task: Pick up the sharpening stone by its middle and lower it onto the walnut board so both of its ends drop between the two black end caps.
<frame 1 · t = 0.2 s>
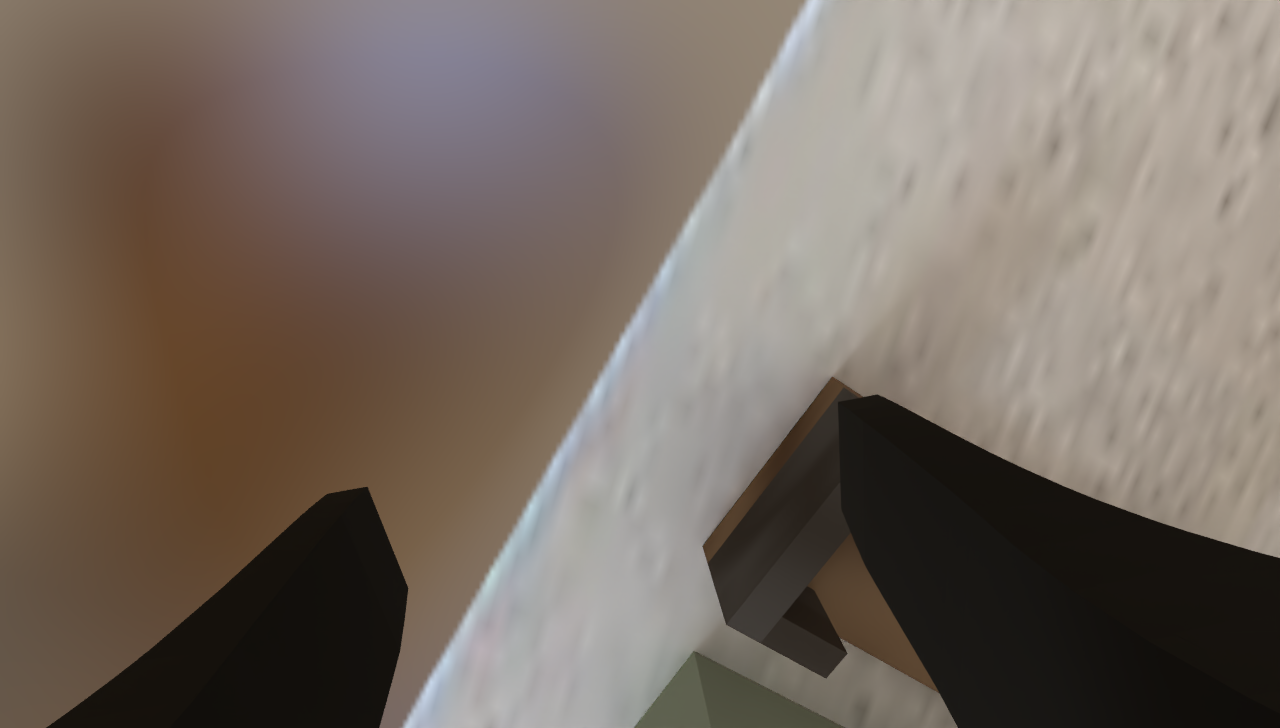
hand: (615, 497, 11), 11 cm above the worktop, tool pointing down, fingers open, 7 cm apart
end cap cradle: (951, 578, 25), on the worktop
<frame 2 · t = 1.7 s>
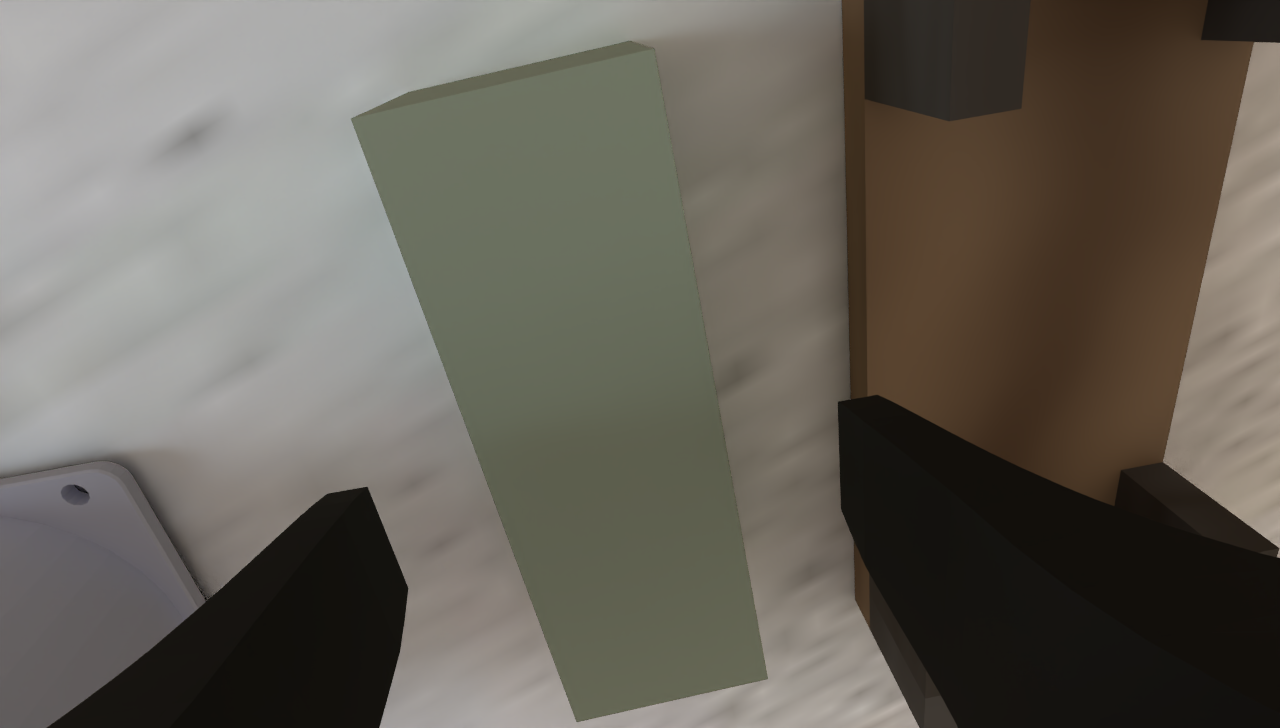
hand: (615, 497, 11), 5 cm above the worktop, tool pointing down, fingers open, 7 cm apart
sharpening stone: (597, 358, 15), on the worktop
end cap cradle: (1007, 290, 15), on the worktop
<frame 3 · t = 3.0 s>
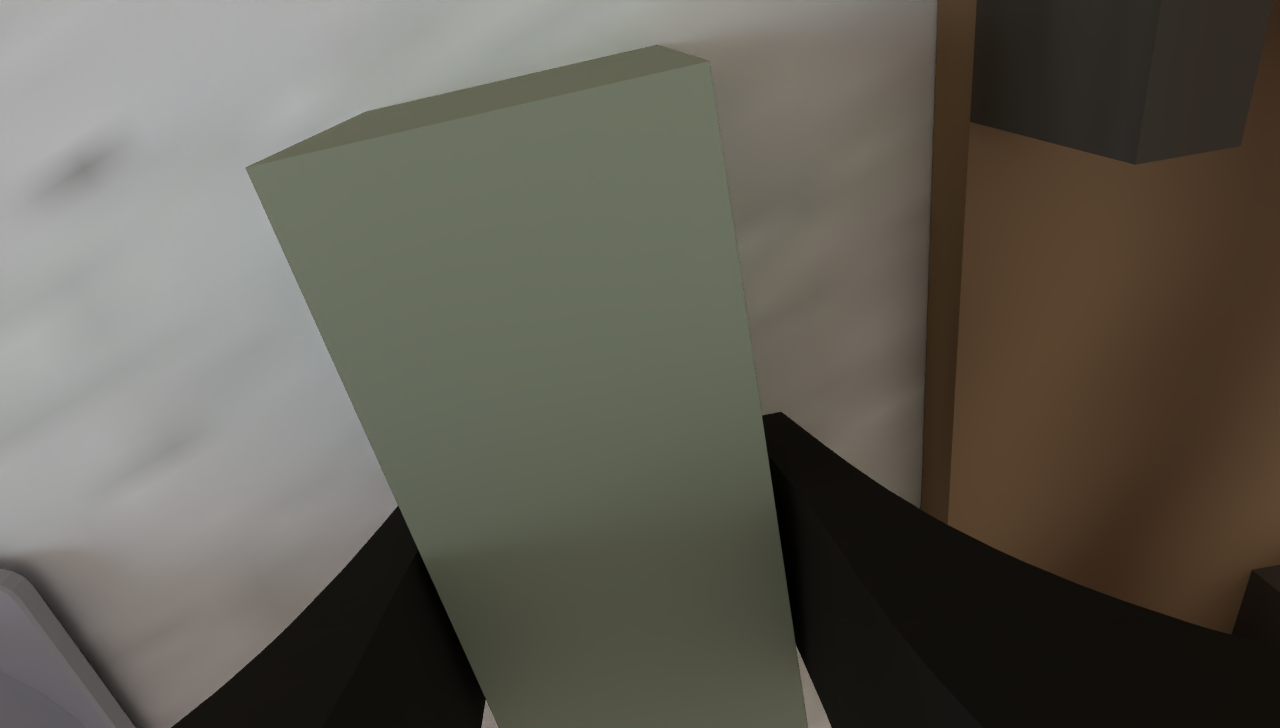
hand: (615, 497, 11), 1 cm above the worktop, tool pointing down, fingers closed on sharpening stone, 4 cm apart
sharpening stone: (609, 444, 12), on the worktop, touching gripper
end cap cradle: (1123, 355, 12), on the worktop
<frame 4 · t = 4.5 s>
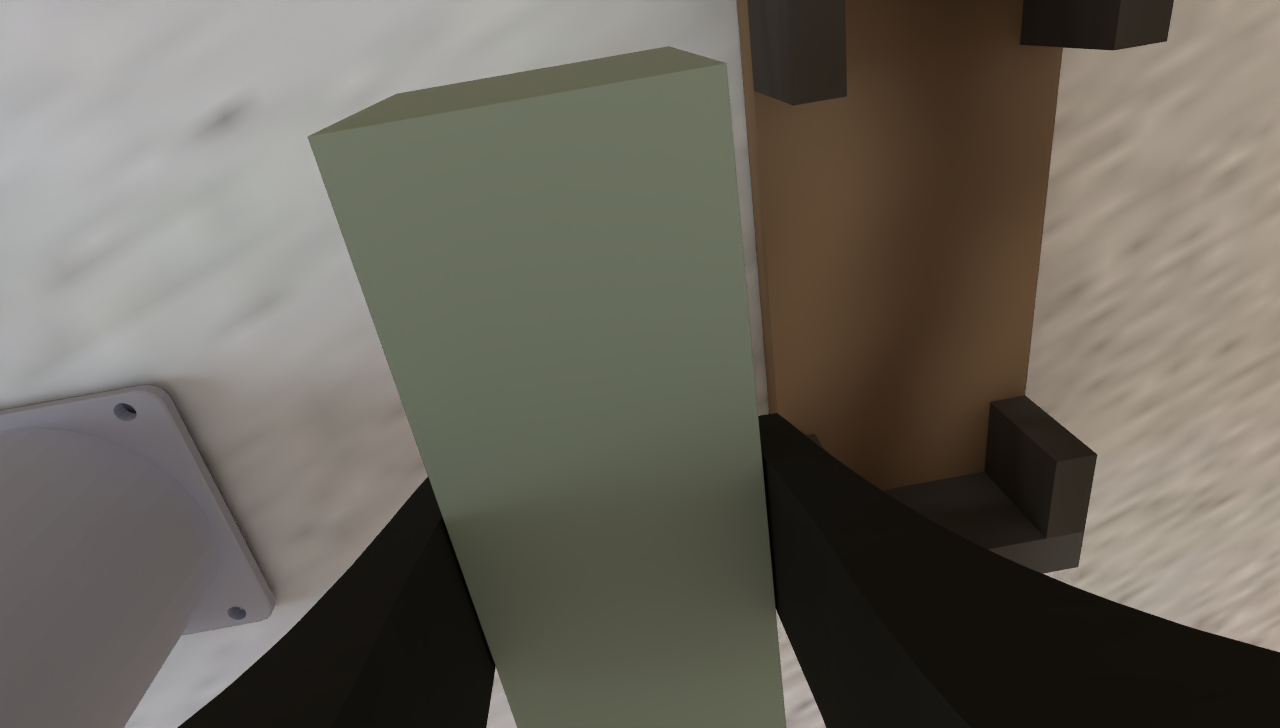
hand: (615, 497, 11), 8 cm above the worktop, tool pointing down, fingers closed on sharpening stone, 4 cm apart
sharpening stone: (605, 419, 13), point 6 cm above the worktop, touching gripper
end cap cradle: (889, 249, 19), on the worktop
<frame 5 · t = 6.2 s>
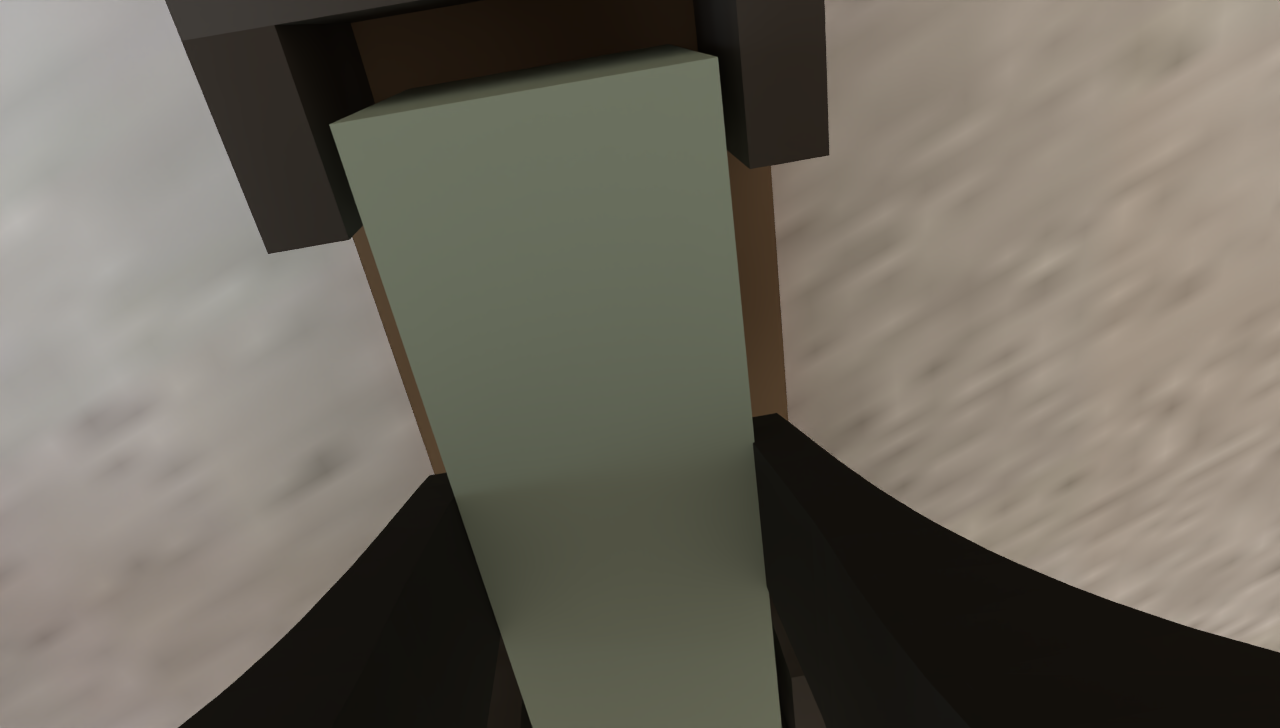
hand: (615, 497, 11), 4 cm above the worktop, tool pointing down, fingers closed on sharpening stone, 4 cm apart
sharpening stone: (606, 404, 13), point 1 cm above the worktop, touching end cap cradle, gripper
end cap cradle: (601, 380, 14), on the worktop
when the fingers open (4 cm above the worktop, at t = 6.7 s): sharpening stone stays where it is, resting on end cap cradle.
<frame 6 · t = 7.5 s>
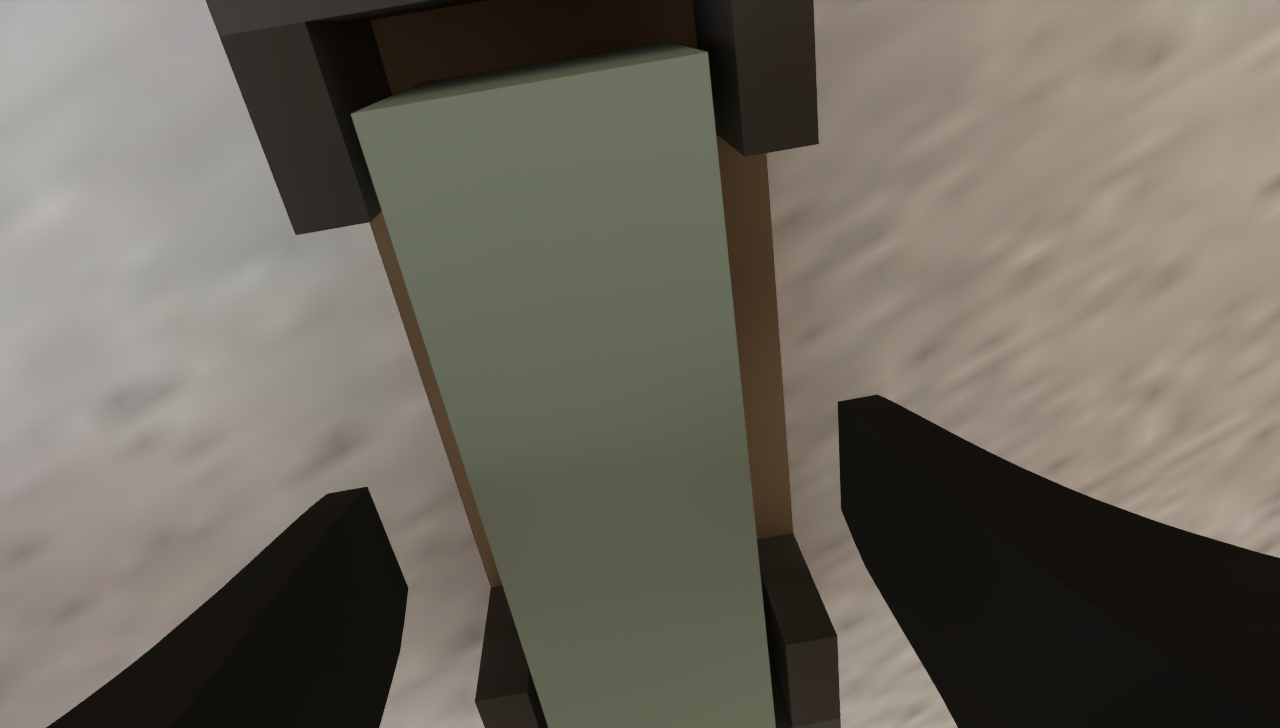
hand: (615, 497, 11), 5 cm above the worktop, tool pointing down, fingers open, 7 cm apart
sharpening stone: (606, 385, 14), point 1 cm above the worktop, touching end cap cradle
end cap cradle: (605, 363, 15), on the worktop
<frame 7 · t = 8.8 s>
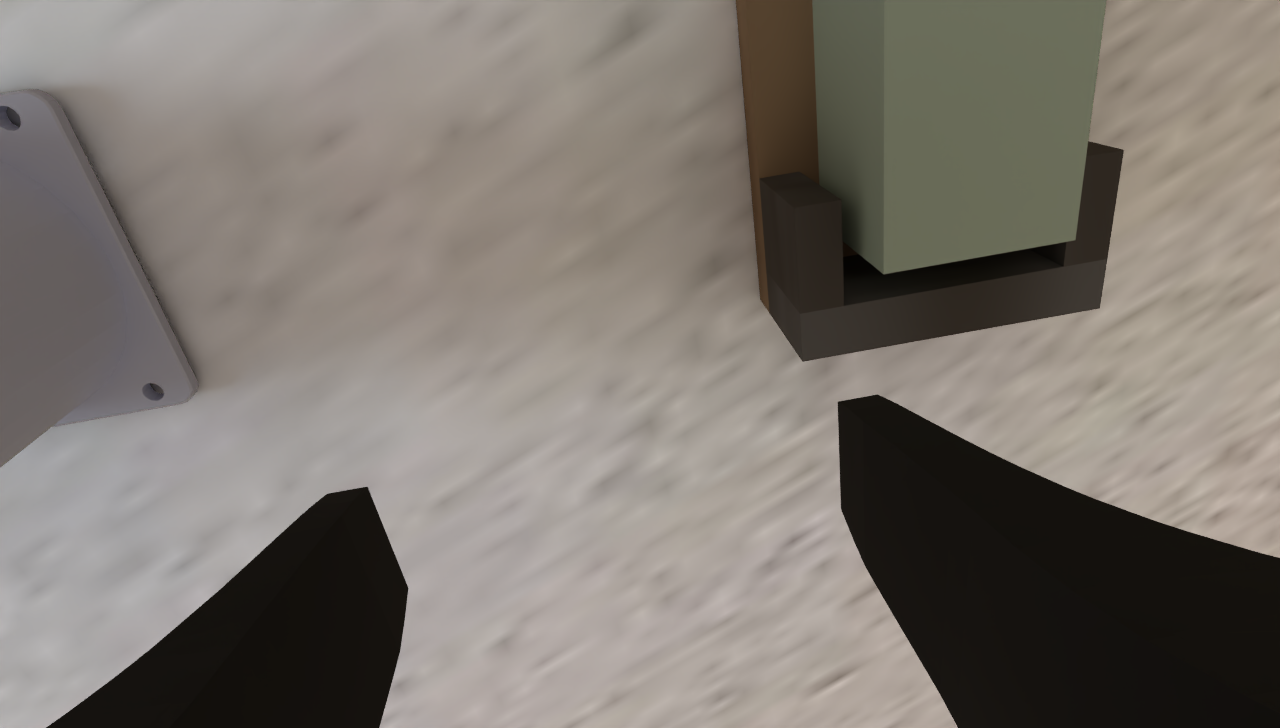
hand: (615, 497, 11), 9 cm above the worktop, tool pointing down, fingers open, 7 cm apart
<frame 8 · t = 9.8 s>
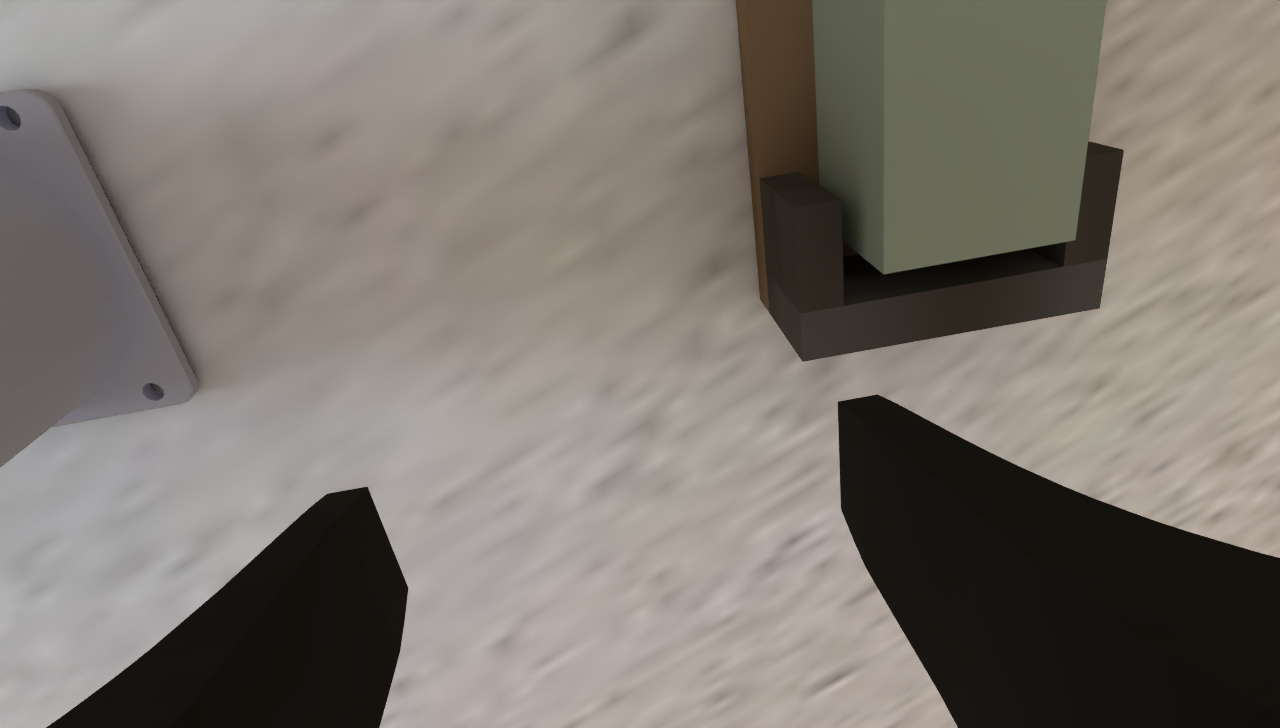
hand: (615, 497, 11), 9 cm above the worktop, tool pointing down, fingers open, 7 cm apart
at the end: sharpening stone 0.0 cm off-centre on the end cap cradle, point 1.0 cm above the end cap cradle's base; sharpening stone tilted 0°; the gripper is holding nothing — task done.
